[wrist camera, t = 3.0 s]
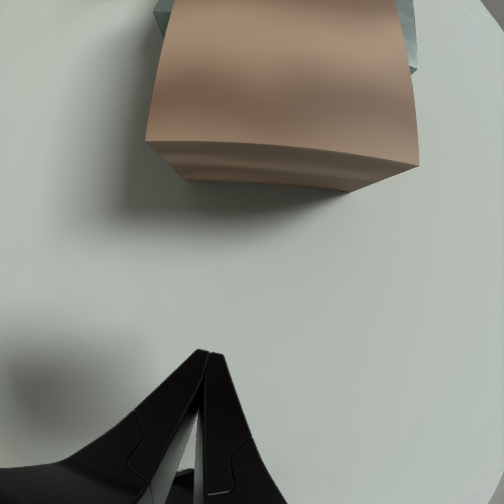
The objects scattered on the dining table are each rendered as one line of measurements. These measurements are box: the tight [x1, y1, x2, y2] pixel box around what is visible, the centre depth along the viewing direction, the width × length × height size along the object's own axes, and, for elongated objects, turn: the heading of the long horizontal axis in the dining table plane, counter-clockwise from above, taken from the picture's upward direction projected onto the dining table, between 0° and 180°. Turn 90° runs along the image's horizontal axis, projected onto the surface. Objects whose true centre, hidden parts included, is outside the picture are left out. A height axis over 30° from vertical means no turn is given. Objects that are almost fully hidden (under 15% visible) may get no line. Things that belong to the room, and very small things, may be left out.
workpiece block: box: [145, 0, 419, 192], centre depth 15 cm, size 16×11×9 cm
